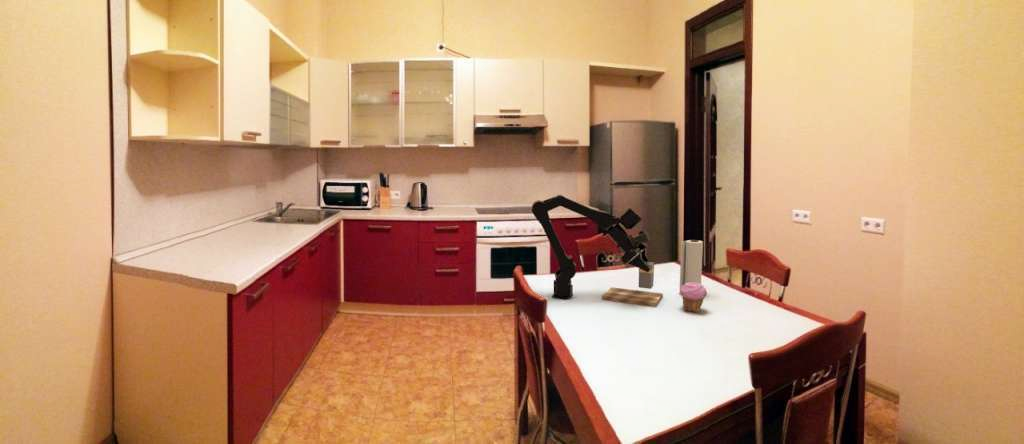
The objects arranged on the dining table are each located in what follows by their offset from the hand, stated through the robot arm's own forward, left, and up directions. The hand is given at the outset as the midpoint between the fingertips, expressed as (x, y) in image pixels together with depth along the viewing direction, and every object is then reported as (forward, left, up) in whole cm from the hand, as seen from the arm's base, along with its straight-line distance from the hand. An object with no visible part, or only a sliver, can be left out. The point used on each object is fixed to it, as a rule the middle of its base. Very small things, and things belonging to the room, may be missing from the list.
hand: (650, 269), depth 169 cm
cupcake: (+16, -4, -12) cm, 20 cm away
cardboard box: (-6, 0, -12) cm, 14 cm away
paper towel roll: (+13, +15, -12) cm, 23 cm away
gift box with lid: (-1, 0, -7) cm, 7 cm away
